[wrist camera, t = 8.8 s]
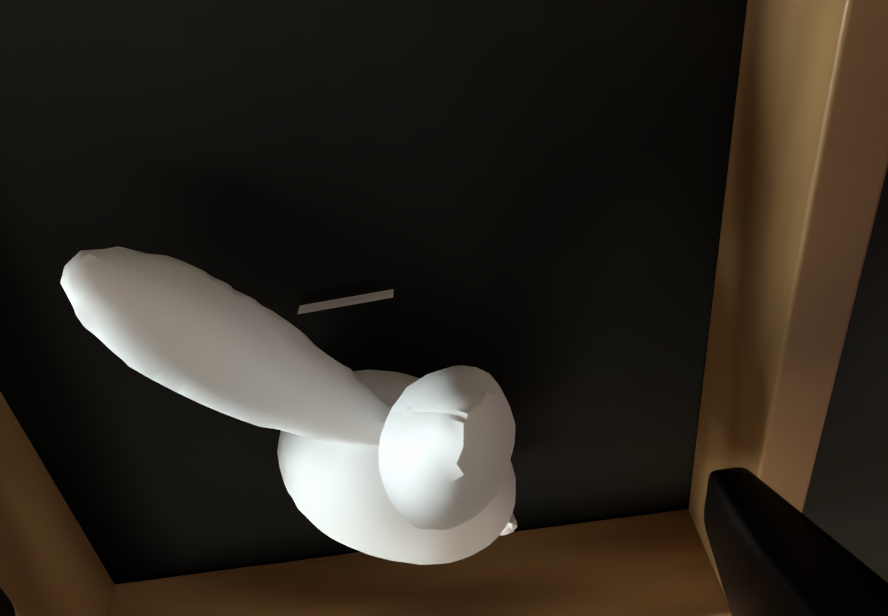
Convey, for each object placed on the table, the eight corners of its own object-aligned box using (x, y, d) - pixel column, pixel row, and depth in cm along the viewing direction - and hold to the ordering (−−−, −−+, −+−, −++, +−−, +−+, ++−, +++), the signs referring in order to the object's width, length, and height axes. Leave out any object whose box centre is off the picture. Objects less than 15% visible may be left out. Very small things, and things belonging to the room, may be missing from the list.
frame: (90, 612, 17) (50, 730, 15) (-312, -9, 9) (-504, 55, 7) (725, 529, 17) (773, 634, 15) (836, -162, 9) (968, -141, 7)
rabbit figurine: (272, 510, 15) (-51, 369, 8) (356, 338, 17) (133, 90, 10) (553, 637, 13) (425, 588, 6) (625, 427, 14) (587, 188, 7)
